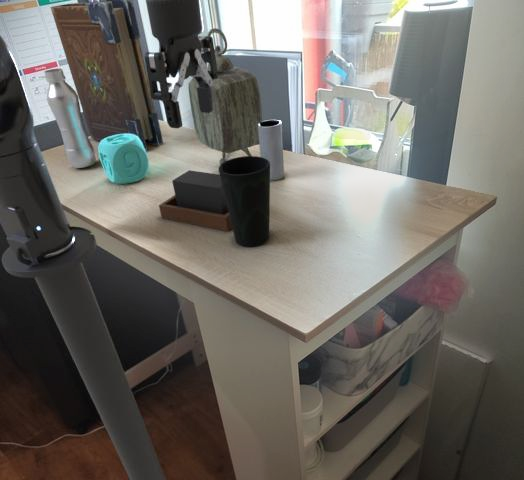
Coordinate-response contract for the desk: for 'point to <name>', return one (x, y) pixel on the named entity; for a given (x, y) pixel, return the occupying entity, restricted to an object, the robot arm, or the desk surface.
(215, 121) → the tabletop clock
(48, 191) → the robot arm
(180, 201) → the black rectangular box
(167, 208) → the wooden tray
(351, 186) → the desk surface
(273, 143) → the grey cylindrical tube
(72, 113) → the silver metal bottle
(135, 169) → the decorative dice
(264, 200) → the cup
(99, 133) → the decorative book
